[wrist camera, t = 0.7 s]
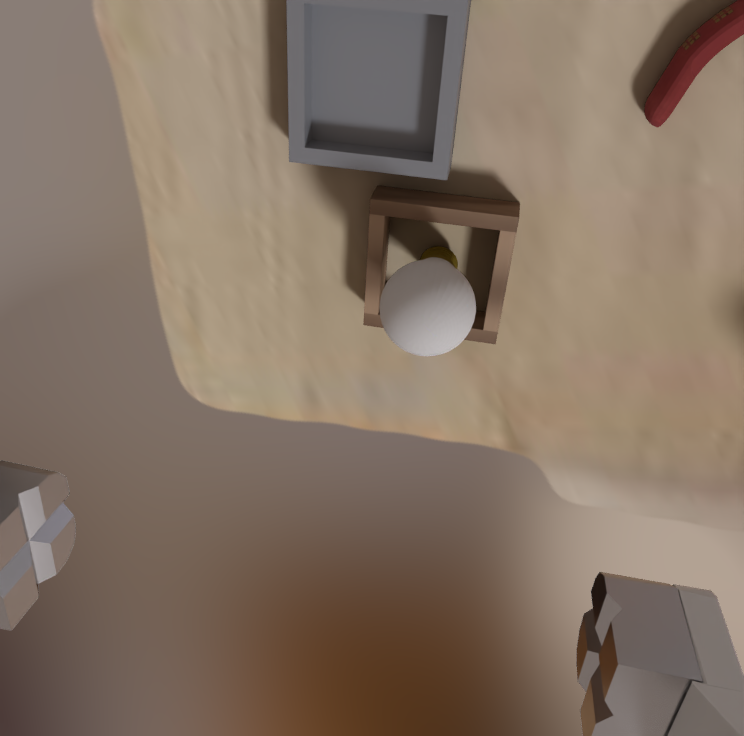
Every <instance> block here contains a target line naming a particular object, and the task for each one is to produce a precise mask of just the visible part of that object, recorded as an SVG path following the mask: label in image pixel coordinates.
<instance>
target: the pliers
mask: <svg viewBox="0 0 744 736" xmlns="http://www.w3.org/2000/svg"><path fill="white" fill-rule="evenodd" d="M743 34H744V0H737V1H736V2H734V3H733V4H731V5H729V6H728V7H726V8H725V9H723V10H722V11H720V12H719V13H718V14H716V15H715V16H713V17H712V18H711V19H709V20H708V21H707V22H706V23H704V24H703V25H702V26H701V27H700V28H698V29H697V30H696V31H695V32H694V33H693V34H692V35H690V36H689V38H688V39H687V40H686V41H685V42H684V43H683V44H682V45H681V46H680V47H679V49H678V50H677V52H676V54H675V55H674V57H673V58H672V60H671V62H670V63H669V65H668V66H667V68H666V70H665V71H664V73H663V74H662V76H661V78H660V79H659V81H658V82H657V84H656V86H655V87H654V89H653V90H652V92H651V94H650V95H649V97H648V99H647V101H646V104H645V110H644V112H645V116H646V119H647V120H648V121H649V123H651V124H652V125H653V126H655V127H659V126H661V125H662V124H663V123H664V122H665V121H666V120H667V118H668V117H669V116H670V114H671V113H672V112H673V110H674V109H675V107H676V106H677V104H678V103H679V101H680V100H681V98H682V97H683V95H684V94H685V92H686V91H687V89H688V88H689V86H690V85H691V83H692V82H693V80H694V79H695V77H696V76H697V74H698V73H699V72H700V71H701V70H702V68H703V67H704V66H705V65H706V64H707V63H708V62H709V61H710V60H711V59H712V58H713V57H714V56H715V55H716V54H717V53H718V52H720V51H721V50H722V49H723V48H725V47H726V46H727V45H729V44H730V43H731V42H733V41H734V40H736V39H737V38H739V37H740V36H742V35H743Z"/></svg>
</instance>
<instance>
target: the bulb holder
mask: <svg viewBox="0 0 744 736" xmlns="http://www.w3.org/2000/svg"><path fill="white" fill-rule="evenodd" d="M519 210H520V203H518V202H510V201H502V200H494V199H485V198H477V197H469V196H460V195H452V194H444V193H435V192H427V191H419V190H410V189H402V188H394V187H386V186H377V187H376V189H375V191H374V193H373V195H372V197H371V199H370V213H369V232H368V251H367V270H366V289H365V307H364V325H368V326H374V327H381V328H384V327H383V325H382V322H381V318H380V299H381V295H382V292H383V289H384V287H385V281H386V267H387V253H388V239H389V225H390V217H397V218H405V219H413V220H421V221H429V222H437V223H445V224H453V225H461V226H469V227H477V228H485V229H493V230H499V235H498V241H497V246H496V252H495V258H494V264H493V270H492V276H491V281H490V287H489V293H488V299H487V305H486V311H485V312H481V311H476V314H475V319H474V323H473V325H472V328H471V330H470V332H469V333H468V335H467V336H466V338H465V339H464V340H470V341H477V342H484V343H491V344H496V339H497V334H498V328H499V323H500V317H501V312H502V307H503V301H504V296H505V291H506V285H507V280H508V275H509V269H510V264H511V259H512V253H513V248H514V243H515V237H516V232H517V227H518V221H519Z"/></svg>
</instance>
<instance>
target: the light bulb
mask: <svg viewBox="0 0 744 736" xmlns="http://www.w3.org/2000/svg"><path fill="white" fill-rule="evenodd" d="M457 267H458V262H457V258H456V256H455V255H454V253H453V252H452V251H450V250H449V249H447V248H445V247H440V246H436V247H431V248H429V249H427V250H426V251H425V252H424V253H423V254H422V256H421V258H420V260H418V261H415V262H411V263H409V264H407V265H405V266H403V267H402V268H400V269H399V270H397V271H396V272H395V273H394V274H393V275H392V276H391V278H390V279H389V280H388V282H387V283H386V285H385V287H384V289H383V292H382V295H381V299H380V318H381V322H382V325H383V327H384V330H385V331H386V333H387V335H388V336H389V338H390V339H391V340H392V341H393V342H394V343H395V344H396V345H397V346H398V347H400V348H401V349H403V350H405V351H407V352H409V353H412V354H415V355H419V356H436V355H440V354H443V353H446V352H448V351H450V350H452V349H454V348H455V347H456V346H458V345H459V344H460V343H461V342H462V341H463V340H464V339H465V338H466V336H467V335H468V333H469V332H470V330H471V328H472V325H473V323H474V319H475V314H476V301H475V295H474V292H473V289H472V287H471V285H470V283H469V282H468V280H467V279H466V278H465V276H464V275H463V274H462V273H461V272H460V271H459V270H458V269H457Z"/></svg>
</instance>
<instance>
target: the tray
mask: <svg viewBox="0 0 744 736" xmlns="http://www.w3.org/2000/svg"><path fill="white" fill-rule="evenodd" d="M286 2H287V61H288V119H289V162H296V163H304V164H313V165H321V166H330V167H338V168H347V169H355V170H364V171H372V172H381V173H389V174H398V175H406V176H415V177H423V178H431V179H440V180H447V179H448V175H449V172H450V169H451V162H452V154H453V146H454V138H455V129H456V121H457V113H458V104H459V96H460V88H461V79H462V71H463V63H464V55H465V46H466V38H467V30H468V21H469V13H470V5H471V0H286Z"/></svg>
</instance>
